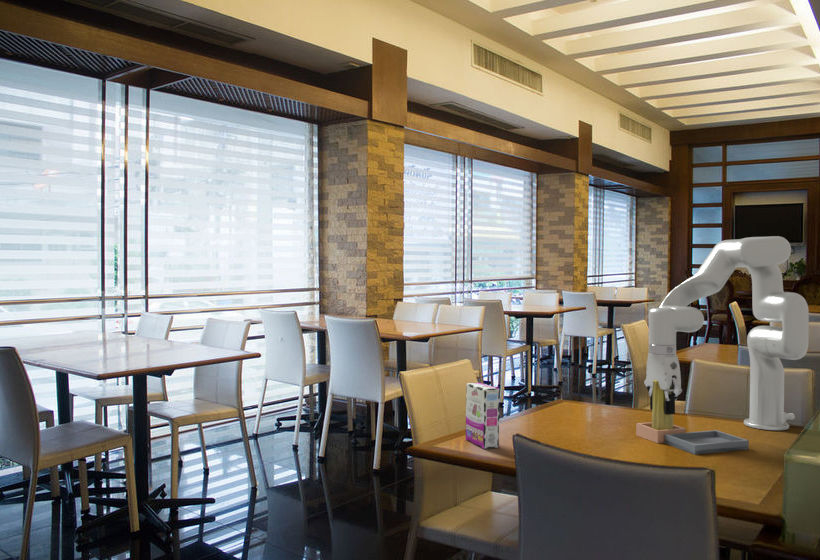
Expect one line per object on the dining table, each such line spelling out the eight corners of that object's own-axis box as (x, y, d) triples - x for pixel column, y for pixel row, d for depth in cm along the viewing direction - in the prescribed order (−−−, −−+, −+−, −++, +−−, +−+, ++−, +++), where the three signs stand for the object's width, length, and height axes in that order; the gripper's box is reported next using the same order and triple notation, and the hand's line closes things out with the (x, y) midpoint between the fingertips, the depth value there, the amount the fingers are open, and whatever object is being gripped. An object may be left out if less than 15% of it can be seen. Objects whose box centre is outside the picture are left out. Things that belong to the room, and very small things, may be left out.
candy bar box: (500, 448, 182) (500, 388, 181) (484, 449, 180) (484, 389, 179) (480, 438, 192) (480, 381, 192) (464, 439, 190) (465, 382, 190)
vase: (675, 431, 190) (675, 381, 190) (653, 430, 192) (652, 381, 191) (671, 426, 196) (671, 378, 196) (649, 425, 198) (649, 377, 197)
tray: (715, 438, 193) (716, 430, 193) (748, 449, 182) (748, 440, 182) (664, 443, 188) (664, 434, 188) (694, 454, 177) (694, 445, 176)
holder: (663, 432, 200) (663, 421, 200) (685, 440, 191) (685, 428, 191) (636, 435, 197) (636, 423, 197) (657, 443, 188) (657, 431, 188)
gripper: (693, 353, 186) (694, 417, 187) (653, 346, 203) (653, 405, 203) (671, 354, 184) (671, 419, 184) (632, 347, 200) (633, 407, 201)
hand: (662, 411), depth 194 cm, fingers closed on vase, 5 cm apart
